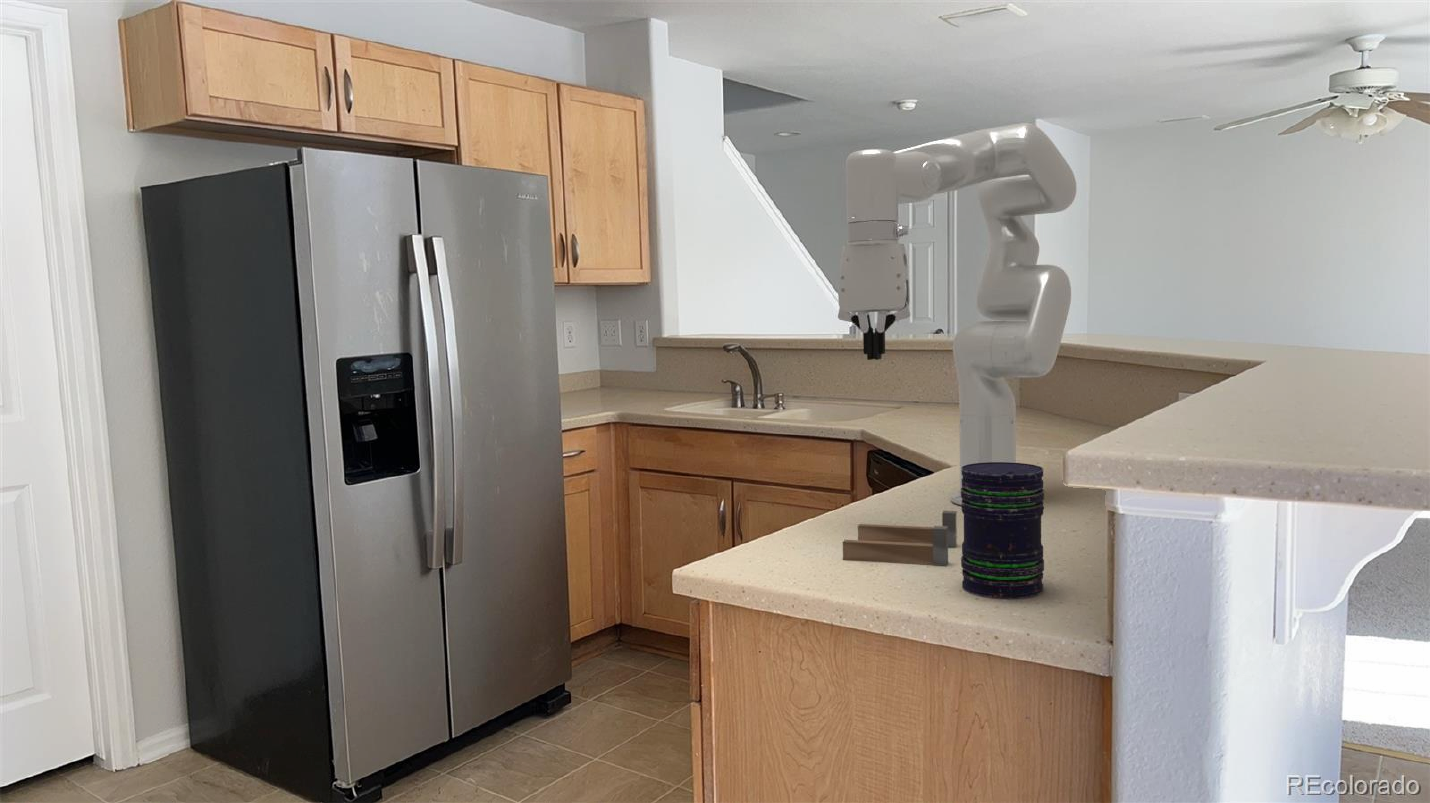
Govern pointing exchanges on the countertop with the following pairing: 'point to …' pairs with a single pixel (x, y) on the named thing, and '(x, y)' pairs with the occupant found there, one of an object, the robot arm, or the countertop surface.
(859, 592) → the countertop surface
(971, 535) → the dark blue cylinder
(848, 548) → the chute
